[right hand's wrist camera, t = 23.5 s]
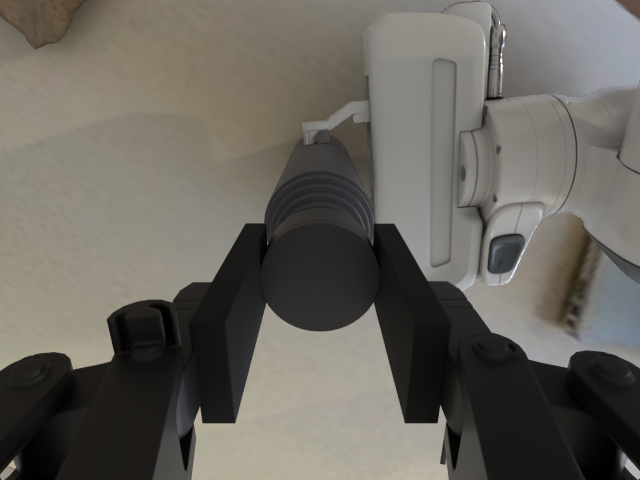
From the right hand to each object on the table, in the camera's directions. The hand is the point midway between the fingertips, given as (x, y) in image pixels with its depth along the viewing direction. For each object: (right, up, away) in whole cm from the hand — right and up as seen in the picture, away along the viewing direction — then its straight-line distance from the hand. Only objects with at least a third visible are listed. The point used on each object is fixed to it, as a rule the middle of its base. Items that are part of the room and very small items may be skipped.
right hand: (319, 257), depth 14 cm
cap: (0, -1, -1) cm, 2 cm away
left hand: (-1, +5, +14) cm, 15 cm away
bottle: (0, +8, +20) cm, 21 cm away
